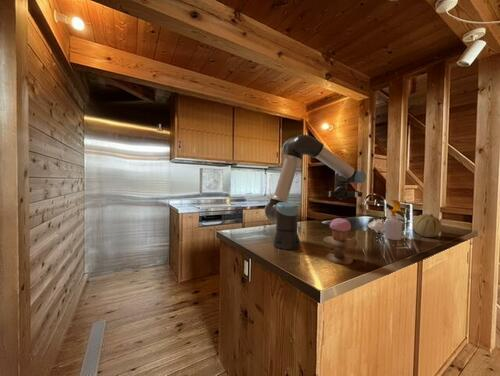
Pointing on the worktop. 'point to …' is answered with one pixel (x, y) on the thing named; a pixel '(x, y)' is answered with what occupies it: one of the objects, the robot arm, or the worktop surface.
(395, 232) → the soap bottle
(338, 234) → the cupcake
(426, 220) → the cantaloupe
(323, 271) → the worktop surface
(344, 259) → the cake stand
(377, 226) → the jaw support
